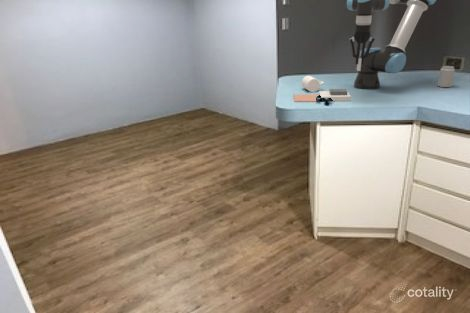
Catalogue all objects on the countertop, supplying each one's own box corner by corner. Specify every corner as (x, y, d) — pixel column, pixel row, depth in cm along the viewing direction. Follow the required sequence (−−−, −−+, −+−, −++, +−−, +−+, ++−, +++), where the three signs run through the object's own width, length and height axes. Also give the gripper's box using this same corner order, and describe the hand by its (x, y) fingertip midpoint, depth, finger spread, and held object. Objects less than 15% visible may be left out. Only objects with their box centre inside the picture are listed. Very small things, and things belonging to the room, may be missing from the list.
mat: (318, 95, 215) (318, 94, 215) (320, 101, 203) (320, 101, 202) (293, 95, 217) (293, 94, 217) (294, 101, 204) (294, 101, 204)
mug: (307, 92, 222) (307, 79, 218) (301, 88, 231) (301, 76, 227) (325, 90, 224) (326, 77, 220) (319, 87, 233) (319, 74, 229)
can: (445, 88, 217) (449, 68, 212) (434, 86, 224) (438, 66, 219) (454, 87, 220) (458, 66, 215) (443, 84, 226) (447, 64, 221)
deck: (347, 95, 212) (347, 91, 211) (350, 101, 201) (350, 96, 200) (318, 95, 214) (318, 91, 213) (320, 101, 203) (320, 96, 202)
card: (345, 92, 209) (345, 88, 208) (347, 95, 203) (347, 91, 202) (329, 92, 210) (329, 89, 209) (330, 95, 204) (330, 91, 204)
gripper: (351, 25, 188) (347, 71, 197) (378, 24, 186) (372, 71, 196) (349, 24, 195) (345, 69, 204) (374, 23, 193) (369, 69, 203)
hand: (358, 70), depth 200 cm, fingers closed
